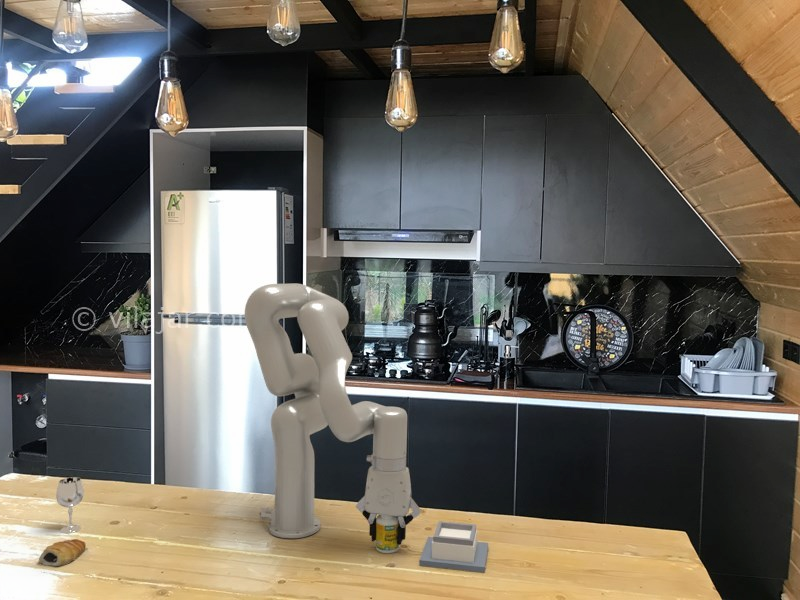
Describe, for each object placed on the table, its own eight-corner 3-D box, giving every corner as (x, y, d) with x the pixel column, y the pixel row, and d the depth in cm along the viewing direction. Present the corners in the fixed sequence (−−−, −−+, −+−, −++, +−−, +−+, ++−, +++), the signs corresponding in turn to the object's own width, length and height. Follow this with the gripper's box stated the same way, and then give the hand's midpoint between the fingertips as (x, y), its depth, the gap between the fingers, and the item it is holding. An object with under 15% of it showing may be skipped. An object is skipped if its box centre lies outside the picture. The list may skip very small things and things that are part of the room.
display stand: (419, 565, 135) (419, 538, 135) (427, 541, 147) (428, 517, 147) (484, 572, 133) (485, 545, 132) (488, 547, 144) (488, 522, 144)
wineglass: (82, 532, 150) (82, 483, 149) (55, 535, 148) (54, 485, 147) (85, 523, 155) (84, 475, 154) (58, 526, 153) (57, 477, 152)
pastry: (69, 546, 143) (69, 530, 143) (94, 550, 141) (94, 533, 141) (36, 565, 134) (35, 548, 133) (62, 570, 132) (62, 552, 132)
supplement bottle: (390, 541, 147) (391, 501, 146) (403, 550, 142) (404, 509, 142) (370, 546, 144) (372, 505, 143) (383, 556, 139) (384, 513, 139)
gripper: (348, 464, 140) (346, 543, 141) (424, 471, 136) (421, 552, 138) (357, 454, 147) (355, 529, 148) (429, 460, 144) (427, 538, 145)
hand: (387, 539), depth 143 cm, fingers closed on supplement bottle, 5 cm apart
